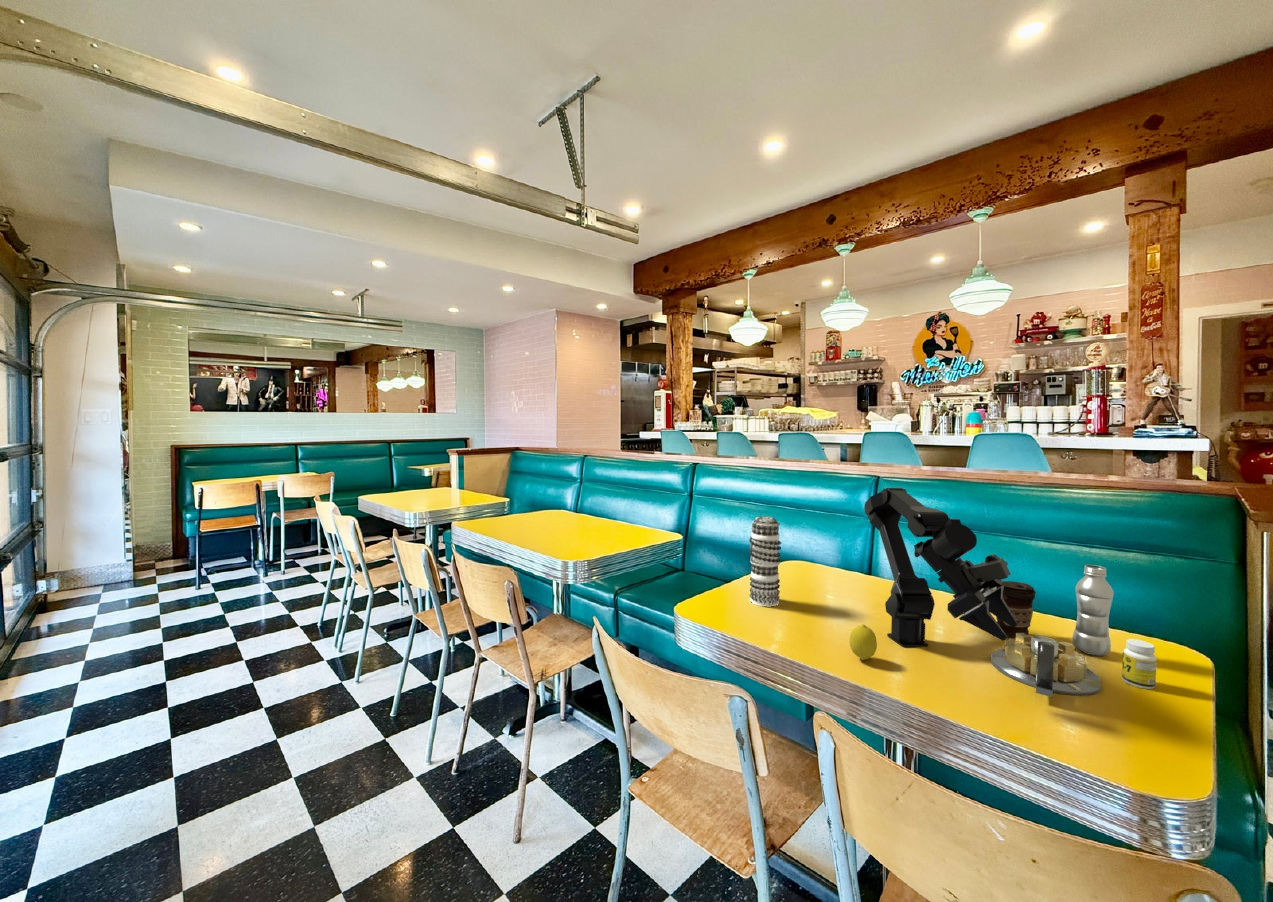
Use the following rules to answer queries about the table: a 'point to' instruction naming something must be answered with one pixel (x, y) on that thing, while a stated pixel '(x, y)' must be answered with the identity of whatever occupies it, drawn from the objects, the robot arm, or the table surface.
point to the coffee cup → (1017, 606)
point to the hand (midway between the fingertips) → (1010, 632)
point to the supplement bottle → (1139, 664)
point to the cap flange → (1069, 688)
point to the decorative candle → (765, 562)
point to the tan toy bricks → (1045, 662)
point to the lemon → (863, 642)
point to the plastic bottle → (1093, 612)
